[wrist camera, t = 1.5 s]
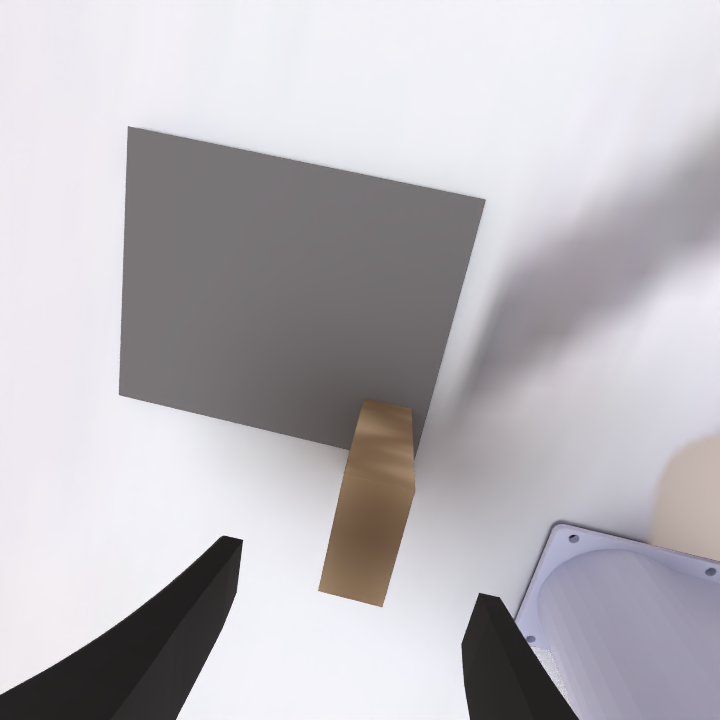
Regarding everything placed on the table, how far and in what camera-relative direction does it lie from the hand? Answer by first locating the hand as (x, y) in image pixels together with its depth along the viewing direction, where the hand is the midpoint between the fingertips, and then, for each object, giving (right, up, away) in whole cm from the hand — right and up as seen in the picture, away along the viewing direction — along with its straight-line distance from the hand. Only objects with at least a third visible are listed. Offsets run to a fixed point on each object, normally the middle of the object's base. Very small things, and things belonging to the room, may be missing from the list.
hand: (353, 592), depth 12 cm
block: (+1, +2, +9) cm, 9 cm away
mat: (-4, +9, +8) cm, 13 cm away
